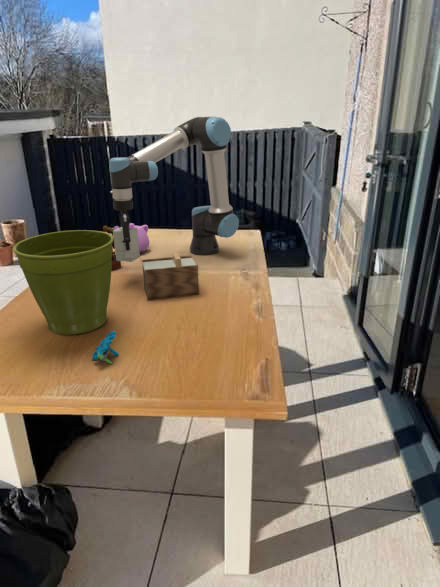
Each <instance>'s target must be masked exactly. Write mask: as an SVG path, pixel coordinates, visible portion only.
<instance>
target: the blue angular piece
mask: <svg viewBox="0 0 440 587" xmlns="http://www.w3.org/2000/svg"><path fill="white" fill-rule="evenodd" d="M116 334H117V331H115V330H111V331H110V333H107V334H106V336H105V338H102V340H101V341H100V343H99V344H98V345H97V346H96V348H95V351H94V352H93V353H92V356H91V359H92V360H93V361H94V360H95V361H97V360H98V359H99V360H100V361H102V362H104V361H105V362H106V363H108V364H109V365H112V364H113V361H111V360H110V359H109V358H107V357H108V354H109V352H110V353H112V354H113V355H114V356H115V357H118V356H119V354H120V353H119V352H118V351H117V350H115V349H113V348H112V346H111V345H112V344H113V342H114V341H113V340H114V339H115V338H116V336H117V335H116Z"/></svg>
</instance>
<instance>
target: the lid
mask: <svg viewBox="0 0 440 587" xmlns="http://www.w3.org/2000/svg"><path fill="white" fill-rule="evenodd" d="M172 257H173V259H172V260H161V261H150V262H142V263H143V265H142V268H143V267H144V271H145V270H147V269H158V268H169V267H180V266H191V265H197V263H196V262H195V260H194V258H193V257H192V258H184V259H181V258H180V257H181V256H180V254H179V253H178V252H173V253H172Z"/></svg>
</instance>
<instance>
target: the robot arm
mask: <svg viewBox="0 0 440 587" xmlns="http://www.w3.org/2000/svg"><path fill="white" fill-rule="evenodd" d="M231 129H232V128H231V126H230V124H229V123H228V121H227V120H226V119H225V118H224V117H221V116H220V117H219V116H197V117H193V118H190V119H189V120H187V121H185V122H183V123H181V124H180V125H178V126H176V127H174V129H173V131H172V132H170V133H169V134H167V135H165V136H163V137H161V138H160V139H158V140H156V141H154V142H153V143H151V144H149V145H147V146H145V147H143V148H141V149H140V150H138V151H136V152H135V153H132V154H131V155H130V156H127V157H112V158H110V159H109V173H110V174H109V176H110V183H111V191H110V194H112V199H113V200H112V201H113V202H112V205H113V209H114V210H115V211H118V212H119V213H118V217H119V218H118V219H119V223H120V227H122V228H123V237H124V241H122V243H124V252H125V258H132V252H131V239H130V231H129V225H130V223H131V222H130V217H131V216H130V213H129V212H128V211H131V210H133V209H134V202H133V201H134V200H133V188H132V183H138V182H139V183H141V182H150V181H154V180H156V179H157V177H158V175H159V168H158V166H157V162H160V161H161V160H163V159H164V158H166V157H168V156H170V155H172V154H173V153H175V152H177V151H178V150H179V149H186V148H188V147H190V146H193V145H195V146H197V145H200V150H201V153H203V155H204V157H205V158H204V159H205V165H206V174H207V183H208V191H209V192H208V193H209V200H210V201H209V202H210V205H203V206H196V207H193V208H192V210H191V224H192V225H191V226H192V238H191V243H190V244H189V252H190V253H191V254H193V255H197V256H198V255H199V256H207V255H214V254H216V253H218V252H219V251H220V245H219V243H218V240H217V237H220V238H226V239H227V238H231V237H233V236H234V235H235V234H236V233H237V231H238V229H239V224H240V220H239V217H238V216H237V215H236V214H235V213H234V209H233V206H232V205H231V204H230V200H229V191H228V190H229V189H228V188H229V187H228V179H227V168H226V158H225V152H226V150H227V148H228V143H230V139H231V137H232V130H231ZM216 236H217V237H216ZM126 238H129V239H126Z"/></svg>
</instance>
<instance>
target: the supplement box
mask: <svg viewBox="0 0 440 587" xmlns="http://www.w3.org/2000/svg"><path fill="white" fill-rule="evenodd" d="M129 231H130V239H131V252H132V258H125V252H124V243H122V241H124V237H123V228H122V226H119V228H118V229H116V230H114V231H113V237H114V245H115V249H114V251H115V255H116V261H121V262H129V263H133V262H134V261H136V260H137V259H139V258H140V257H141V255H140V253H141V252H139V242H138V231H137V228H131V227H129ZM126 239H129V238H126Z"/></svg>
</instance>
